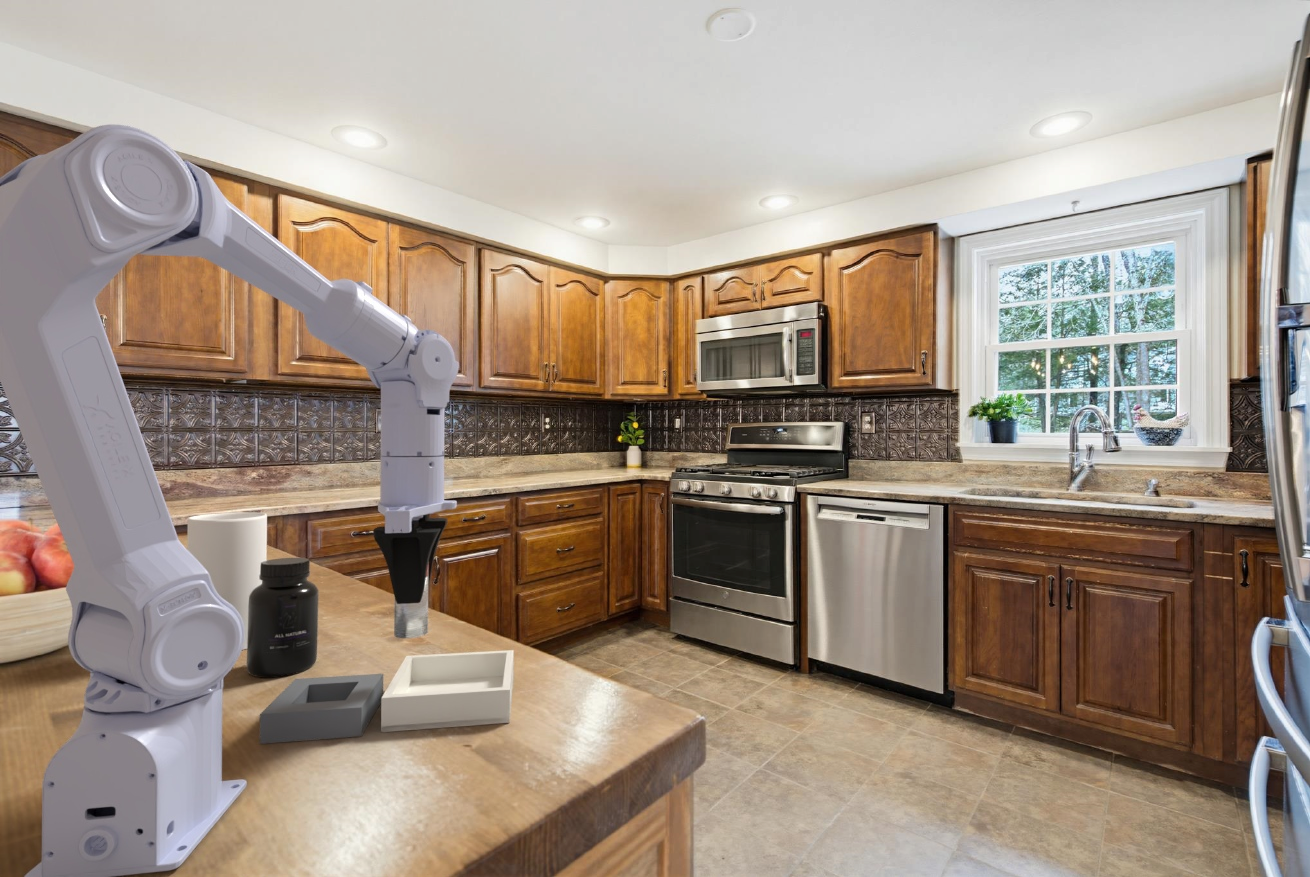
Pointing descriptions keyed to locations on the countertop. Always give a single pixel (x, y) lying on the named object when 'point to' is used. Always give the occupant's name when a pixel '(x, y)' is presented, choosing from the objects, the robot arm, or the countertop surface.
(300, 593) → the supplement bottle
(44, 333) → the robot arm
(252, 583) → the cup
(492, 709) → the pin tray
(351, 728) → the gray square holder
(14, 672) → the countertop surface
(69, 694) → the countertop surface
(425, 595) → the stop pin
